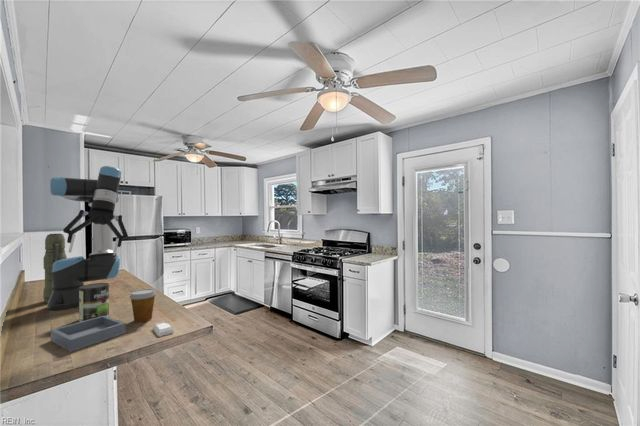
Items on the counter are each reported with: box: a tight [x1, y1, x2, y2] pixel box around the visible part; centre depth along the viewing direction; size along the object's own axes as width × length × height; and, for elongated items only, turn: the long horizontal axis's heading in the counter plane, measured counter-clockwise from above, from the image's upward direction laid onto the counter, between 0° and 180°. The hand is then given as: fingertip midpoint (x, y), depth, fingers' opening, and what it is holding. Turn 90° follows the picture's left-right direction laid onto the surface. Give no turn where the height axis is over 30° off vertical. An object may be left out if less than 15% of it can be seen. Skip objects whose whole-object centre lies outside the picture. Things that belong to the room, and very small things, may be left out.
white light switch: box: [152, 321, 175, 338], centre depth 107 cm, size 5×9×3 cm, turn 43°
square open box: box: [50, 316, 127, 352], centre depth 103 cm, size 16×16×4 cm
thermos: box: [42, 233, 68, 304], centre depth 147 cm, size 9×12×35 cm
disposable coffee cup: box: [129, 288, 157, 323], centre depth 119 cm, size 10×10×12 cm
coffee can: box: [78, 282, 110, 322], centre depth 122 cm, size 10×10×14 cm
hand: (93, 253), depth 109 cm, fingers open, 13 cm apart
